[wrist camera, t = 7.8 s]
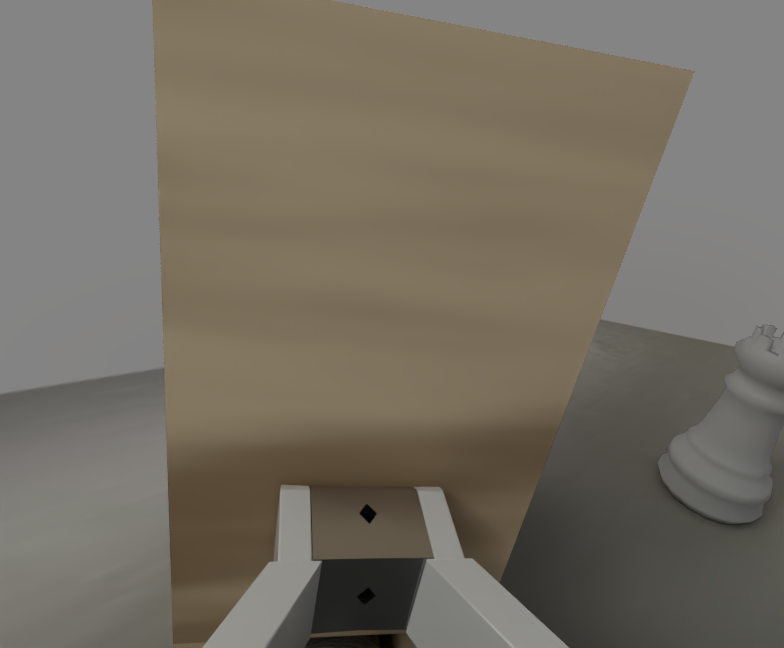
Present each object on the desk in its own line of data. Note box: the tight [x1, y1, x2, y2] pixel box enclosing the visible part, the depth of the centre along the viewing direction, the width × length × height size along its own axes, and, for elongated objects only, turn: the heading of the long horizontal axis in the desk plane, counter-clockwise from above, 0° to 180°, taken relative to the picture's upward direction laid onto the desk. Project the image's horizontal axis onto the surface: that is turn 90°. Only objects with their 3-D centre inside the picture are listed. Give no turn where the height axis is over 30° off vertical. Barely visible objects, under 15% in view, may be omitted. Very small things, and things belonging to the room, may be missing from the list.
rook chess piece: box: [658, 325, 784, 524], centre depth 23 cm, size 4×4×8 cm
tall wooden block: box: [152, 0, 694, 648], centre depth 12 cm, size 5×7×16 cm
